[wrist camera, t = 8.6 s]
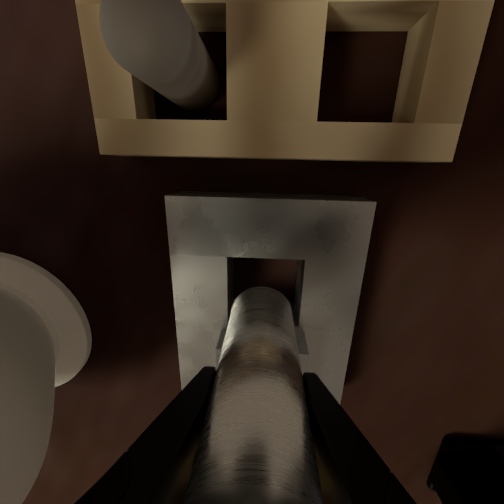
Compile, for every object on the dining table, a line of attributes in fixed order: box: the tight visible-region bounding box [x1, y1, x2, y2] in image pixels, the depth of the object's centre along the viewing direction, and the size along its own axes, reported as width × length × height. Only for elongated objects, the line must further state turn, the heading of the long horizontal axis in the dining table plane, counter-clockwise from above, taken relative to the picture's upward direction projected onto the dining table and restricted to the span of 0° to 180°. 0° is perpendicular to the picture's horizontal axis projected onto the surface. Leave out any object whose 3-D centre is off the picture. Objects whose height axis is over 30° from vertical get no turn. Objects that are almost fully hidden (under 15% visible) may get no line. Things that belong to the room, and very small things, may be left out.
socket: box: [165, 191, 377, 404], centre depth 16 cm, size 11×16×5 cm
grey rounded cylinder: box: [183, 286, 324, 504], centre depth 9 cm, size 3×3×8 cm
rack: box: [75, 0, 495, 163], centre depth 11 cm, size 18×8×6 cm, turn 89°
